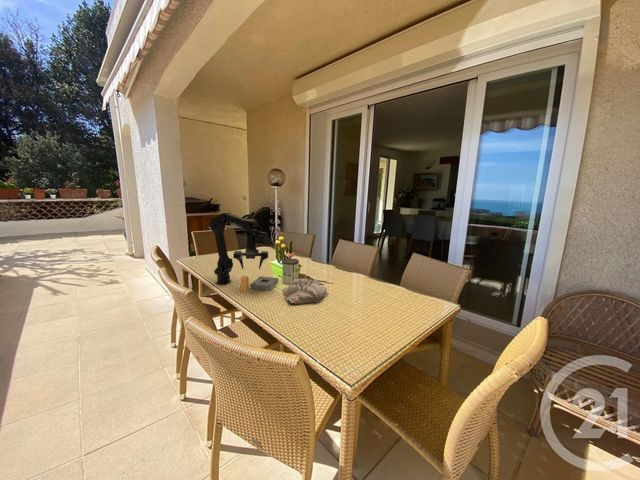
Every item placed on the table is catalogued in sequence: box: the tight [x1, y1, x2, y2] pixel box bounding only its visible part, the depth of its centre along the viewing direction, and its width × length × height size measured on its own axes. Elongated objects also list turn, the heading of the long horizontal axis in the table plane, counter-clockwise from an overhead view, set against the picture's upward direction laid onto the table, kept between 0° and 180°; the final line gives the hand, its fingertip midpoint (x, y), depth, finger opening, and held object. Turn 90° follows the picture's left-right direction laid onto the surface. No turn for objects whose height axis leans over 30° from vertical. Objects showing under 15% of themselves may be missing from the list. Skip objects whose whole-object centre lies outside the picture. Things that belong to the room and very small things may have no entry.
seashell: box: [281, 278, 329, 305], centre depth 140 cm, size 28×18×15 cm, turn 133°
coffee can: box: [281, 258, 300, 286], centre depth 160 cm, size 10×10×14 cm
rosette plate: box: [249, 275, 279, 292], centre depth 153 cm, size 12×14×4 cm
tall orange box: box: [240, 275, 250, 293], centre depth 145 cm, size 3×3×8 cm
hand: (251, 269), depth 145 cm, fingers open, 9 cm apart
